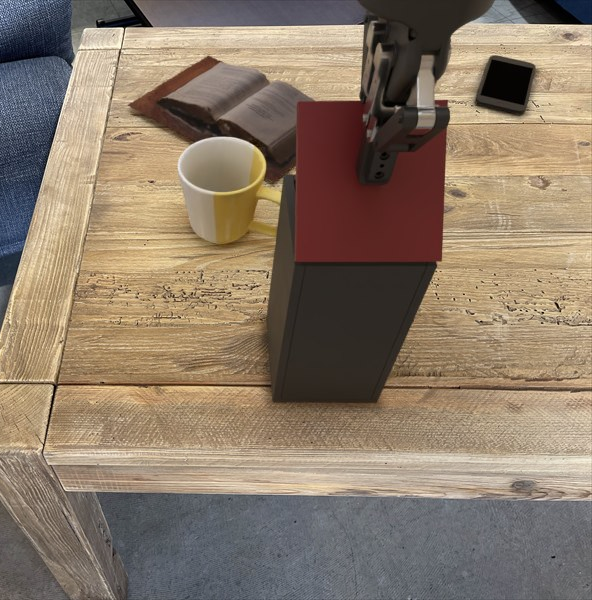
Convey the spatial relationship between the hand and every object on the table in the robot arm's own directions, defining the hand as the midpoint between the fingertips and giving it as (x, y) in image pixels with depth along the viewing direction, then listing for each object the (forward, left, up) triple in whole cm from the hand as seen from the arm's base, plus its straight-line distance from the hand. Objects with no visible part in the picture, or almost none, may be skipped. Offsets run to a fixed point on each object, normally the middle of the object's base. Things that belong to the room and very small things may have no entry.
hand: (371, 177), depth 43 cm
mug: (+16, -15, -26) cm, 34 cm away
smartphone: (-11, -63, -26) cm, 69 cm away
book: (+25, -39, -26) cm, 53 cm away
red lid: (0, -1, -1) cm, 1 cm away
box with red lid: (+1, -2, -26) cm, 26 cm away
